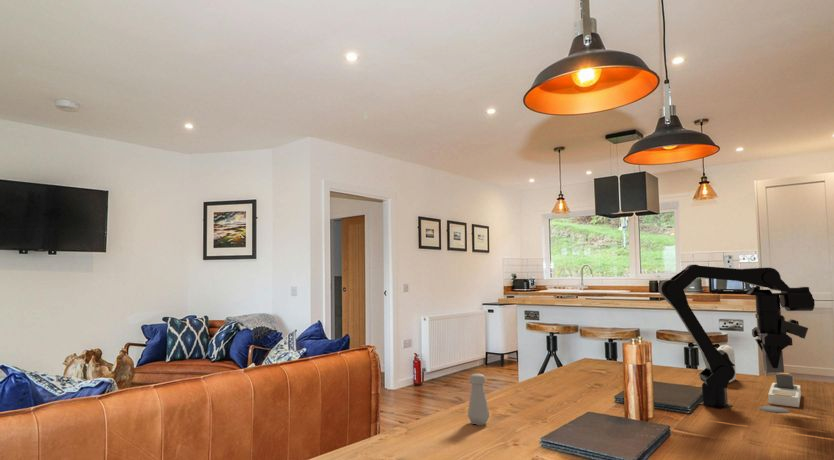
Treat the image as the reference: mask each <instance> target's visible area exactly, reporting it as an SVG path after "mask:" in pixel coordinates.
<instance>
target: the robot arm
mask: <svg viewBox="0 0 834 460" xmlns="http://www.w3.org/2000/svg"><path fill="white" fill-rule="evenodd" d="M781 277H782V276H781V274H780V272H779V271H778V270H777V269H776V268H773V267H750V268H734V267H733V268H731V267H719V266H710V265H708V266H707V265H698V264H688V265H687V266H686V267H685V268H684V269H683V270H681V271H680V272H678V273H676V274H674V275H673V276H672V277H671V278H670V279H667V278H666V279H664V280H662V281H661V282H659V284H658V286H657V290H658V292H659V294H660V295H661V296H662V298H663V299H664V300H665V301H666V302H667V303H668V305H670V306H671V307H672V308H673V310H675V313H676V314H677V315H678V317H679V319H680V320H681V321H682V323H683V325H684V326H685V328H686V330H687V331H688V333H689V335H690V336H691V338H692V340H693V341H694V342H695V344H696V346H697V347H698V349H699V351H700V354H701V356H702V360H703V362H704V365H705V368H704V369H703V370H702V371H701V372H700V373H699V374H698V376H699V378H700V381H701V382H703V383H702V384H701V390H702V402H698V403H697V405H700V406H703V407H704V406H705V407H707V408H712V409H716V410H722V409H726V408H731V407H733V404H729V403H728V393H727V392H728V391H727V388H728V386H729V381H730V380H732V378H733V377H734V375H735V370H736V369H735V370H734V368H733V366H735V367H736V364H735V365H734V364H733V363H732V362H731V361H730V359H729V356H728V354H727V353H726V352H724V351H723V350H719V351H718V350H717V349H718V348H717V347H715V345H714V343H713V342H712V339H710V337H709V335H708V334H707V333H706V331H705V329H704V327H703V326H702V324H701V322H700V321H699V319H698V318H697V316H696V315H695V313H694V312H693V310H692V309H691V307H690V305H689V302H688V298H687V295H686V293H685V289H686V288H687V287H689V286H690V285H691V284H692V283H693V282H694V281H696V280H697V279H699V278H701V279H710V280H711V279H712V280H723V281H731V282H732V281H733V282H740V283H743V284H747V285H752V286H753V287H751V289H749V291H747V292H746V295H747V296H752V297H754V296H755V308H756V313H755V318H756V319H757V320H756V321H757V326H755V327H754V328H753V329H751V335H752V337H753V338H755V339H754V340H755V341H756V343H757V346H758V348H759V349H760V351H761V352H762V348H763V349H764V351H765V353H766V355H767V357H768V359H769V361H770V363H771V365H772V367H773V368H778V364H779V360H780V355H781V351H782V352H783V350H784V349H785V348H787V347H789V346H790V347H791V346H793V338H792V337H791V336H790V335H792V336H793V335H794V336H797V337H798V338H801V339H803V340H804V339H806V336H807V333H808V329H809V327H807V326H803V325H800V324H799V321H798V320H796V319H793V318H790V319H789V320H788V321H787V320H786V318H785V316H784V315H782V311H781V310H782V309H781V308H784V309H785V310H786V312H813V311H814V309H815V305H816V304H815V298H814V297H813V294H812V293H811V291H810V287H809V286H798V287H790V286H789V285H788V284H787V283H785V281H784V280H782V278H781ZM754 286H755V287H754ZM757 287H761V288H767V289H759V288H757ZM772 291H779V292H772ZM789 334H790V335H789ZM762 354H763V352H762Z"/></svg>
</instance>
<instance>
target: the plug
mask: <svg viewBox="0 0 834 460" xmlns="http://www.w3.org/2000/svg"><path fill="white" fill-rule="evenodd" d="M761 352H763V353H762V361H763V370H764V371H765V372H766V373H775V374H776V373H785V365H784V356H783V355H784V354H783V350H782V351H781V355H780V360H779V364H778V368H773V367H772V365H771V363H770V361H769V359H768V357H767V355H766V353H765V351H764V349H763V348H762V351H761Z"/></svg>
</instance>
